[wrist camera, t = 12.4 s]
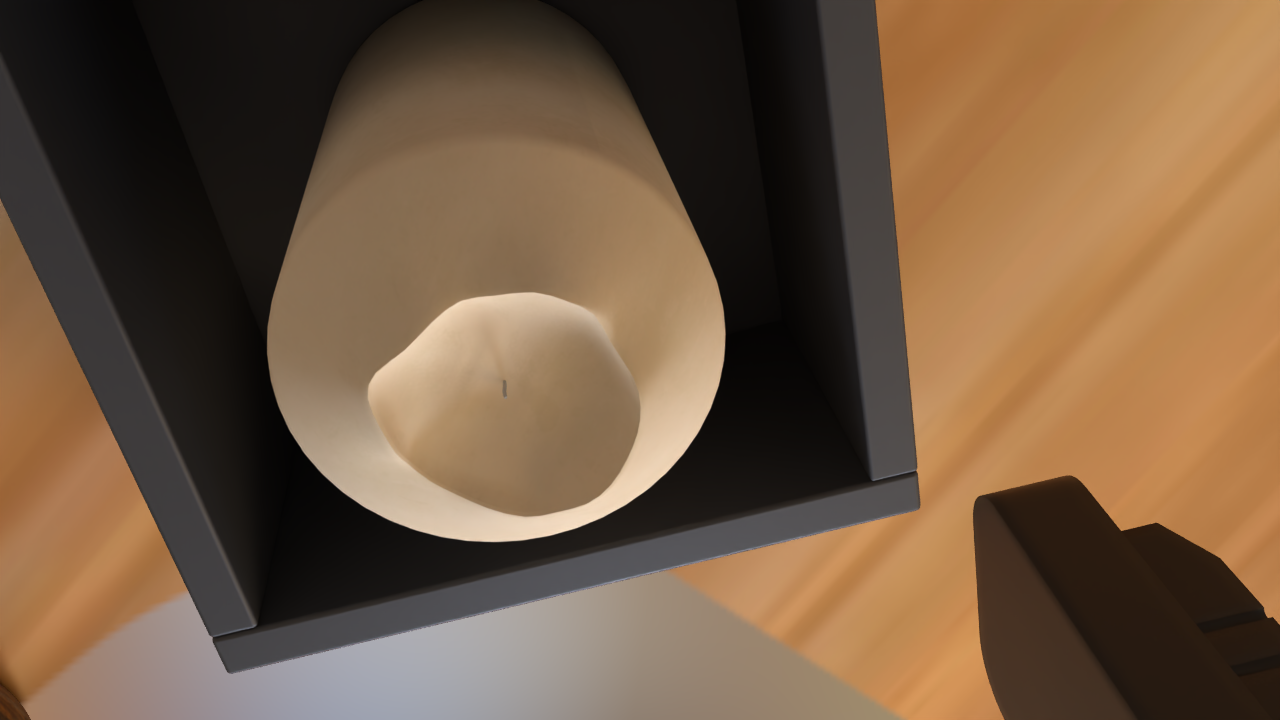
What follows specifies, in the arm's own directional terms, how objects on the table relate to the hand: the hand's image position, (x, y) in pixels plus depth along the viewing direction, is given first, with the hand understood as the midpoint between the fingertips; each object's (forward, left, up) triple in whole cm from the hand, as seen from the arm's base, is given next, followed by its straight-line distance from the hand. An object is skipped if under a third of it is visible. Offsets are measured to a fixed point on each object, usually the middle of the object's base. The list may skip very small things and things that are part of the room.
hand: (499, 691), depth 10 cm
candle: (0, 0, -14) cm, 14 cm away
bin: (0, 0, -15) cm, 15 cm away
